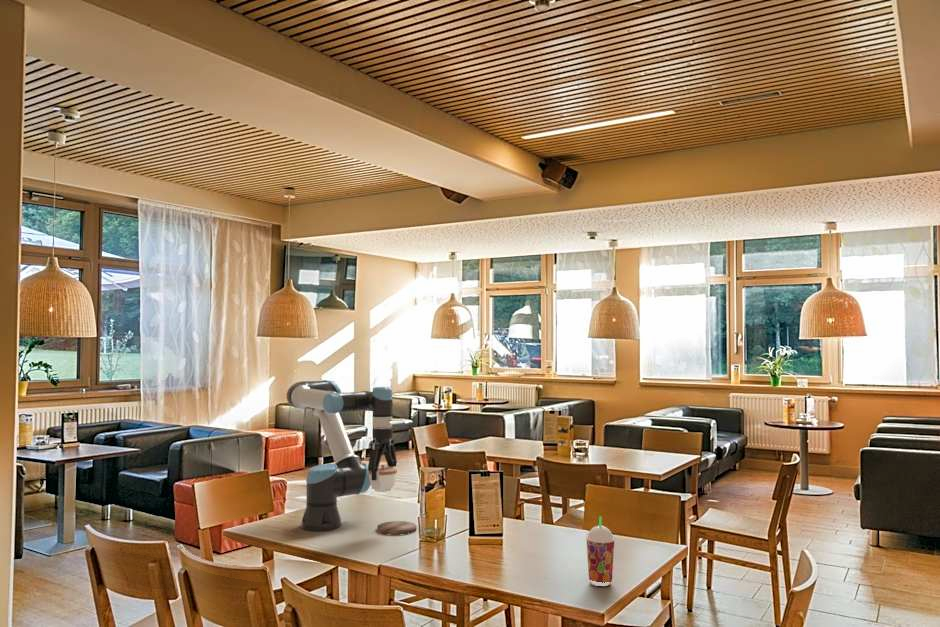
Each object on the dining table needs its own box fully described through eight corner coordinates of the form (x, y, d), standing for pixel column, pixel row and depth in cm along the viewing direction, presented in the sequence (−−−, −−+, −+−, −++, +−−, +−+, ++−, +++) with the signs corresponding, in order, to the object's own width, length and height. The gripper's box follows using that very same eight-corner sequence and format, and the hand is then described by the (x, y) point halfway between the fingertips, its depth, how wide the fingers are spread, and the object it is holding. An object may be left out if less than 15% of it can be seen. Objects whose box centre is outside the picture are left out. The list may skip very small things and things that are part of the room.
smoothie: (611, 579, 220) (611, 513, 220) (617, 588, 211) (617, 520, 212) (583, 579, 219) (583, 513, 220) (589, 589, 211) (589, 520, 212)
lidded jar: (363, 492, 269) (363, 466, 270) (376, 487, 279) (376, 462, 280) (388, 493, 265) (388, 468, 266) (401, 488, 275) (401, 463, 276)
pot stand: (370, 533, 271) (370, 529, 271) (387, 523, 285) (387, 519, 285) (407, 536, 266) (407, 532, 266) (422, 526, 281) (422, 523, 281)
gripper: (375, 431, 262) (376, 492, 260) (405, 425, 283) (405, 481, 282) (358, 430, 264) (358, 491, 263) (388, 424, 286) (389, 480, 285)
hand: (382, 486), depth 272 cm, fingers closed on lidded jar, 11 cm apart
